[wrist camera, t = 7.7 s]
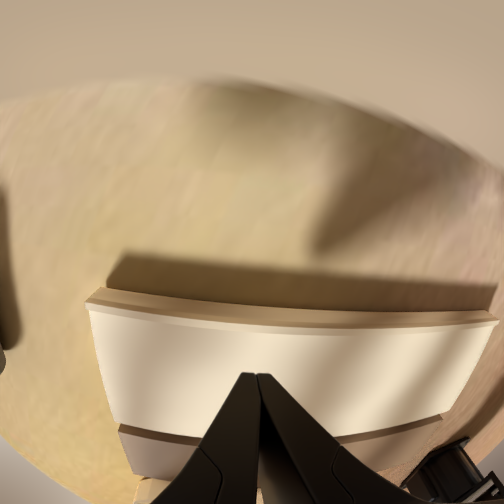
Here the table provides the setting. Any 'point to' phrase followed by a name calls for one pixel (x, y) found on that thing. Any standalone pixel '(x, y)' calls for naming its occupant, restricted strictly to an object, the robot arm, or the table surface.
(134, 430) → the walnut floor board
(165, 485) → the white cup
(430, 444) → the table surface
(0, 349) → the rubber mallet
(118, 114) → the table surface
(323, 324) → the pale oak plank
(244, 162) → the table surface
